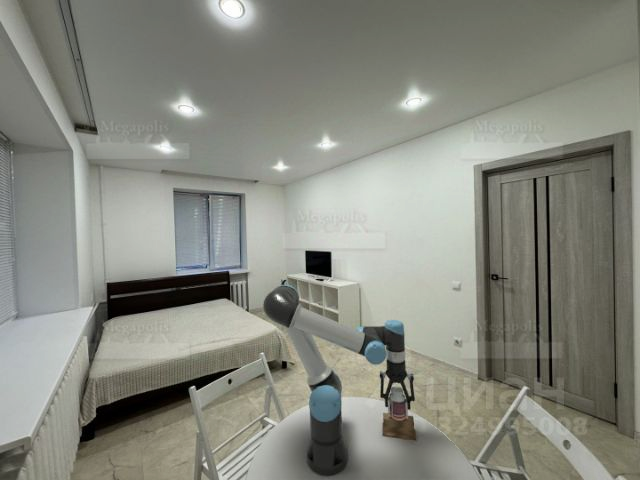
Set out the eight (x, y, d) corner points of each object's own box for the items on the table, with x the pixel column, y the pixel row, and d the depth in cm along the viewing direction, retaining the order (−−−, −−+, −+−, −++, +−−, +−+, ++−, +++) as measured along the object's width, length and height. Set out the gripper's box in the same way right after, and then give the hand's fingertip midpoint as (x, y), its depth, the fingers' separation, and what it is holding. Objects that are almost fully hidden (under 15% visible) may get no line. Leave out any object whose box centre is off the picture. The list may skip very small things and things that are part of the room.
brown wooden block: (382, 436, 106) (381, 421, 106) (382, 424, 113) (382, 410, 113) (416, 440, 103) (415, 425, 103) (414, 428, 110) (414, 413, 110)
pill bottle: (409, 417, 107) (408, 390, 107) (399, 423, 104) (398, 395, 104) (397, 409, 113) (396, 383, 113) (386, 415, 109) (386, 388, 109)
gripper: (371, 361, 107) (373, 418, 107) (421, 365, 102) (424, 424, 102) (372, 353, 114) (374, 407, 114) (419, 356, 110) (421, 412, 110)
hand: (397, 415), depth 108 cm, fingers closed on pill bottle, 6 cm apart
